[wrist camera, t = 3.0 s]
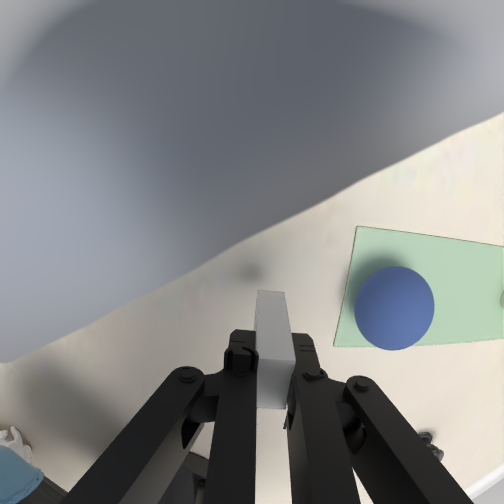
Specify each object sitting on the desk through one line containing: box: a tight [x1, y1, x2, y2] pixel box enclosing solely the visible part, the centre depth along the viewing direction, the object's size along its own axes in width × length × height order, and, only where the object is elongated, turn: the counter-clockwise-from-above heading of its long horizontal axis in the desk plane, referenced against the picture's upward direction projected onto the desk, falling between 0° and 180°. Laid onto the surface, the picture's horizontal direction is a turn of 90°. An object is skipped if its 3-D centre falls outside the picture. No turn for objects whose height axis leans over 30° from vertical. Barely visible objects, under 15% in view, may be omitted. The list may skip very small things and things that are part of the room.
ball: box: [354, 266, 435, 350], centre depth 20 cm, size 6×6×6 cm
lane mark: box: [333, 226, 504, 347], centre depth 23 cm, size 32×10×1 cm, turn 85°
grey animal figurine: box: [0, 426, 32, 464], centre depth 27 cm, size 6×8×12 cm
